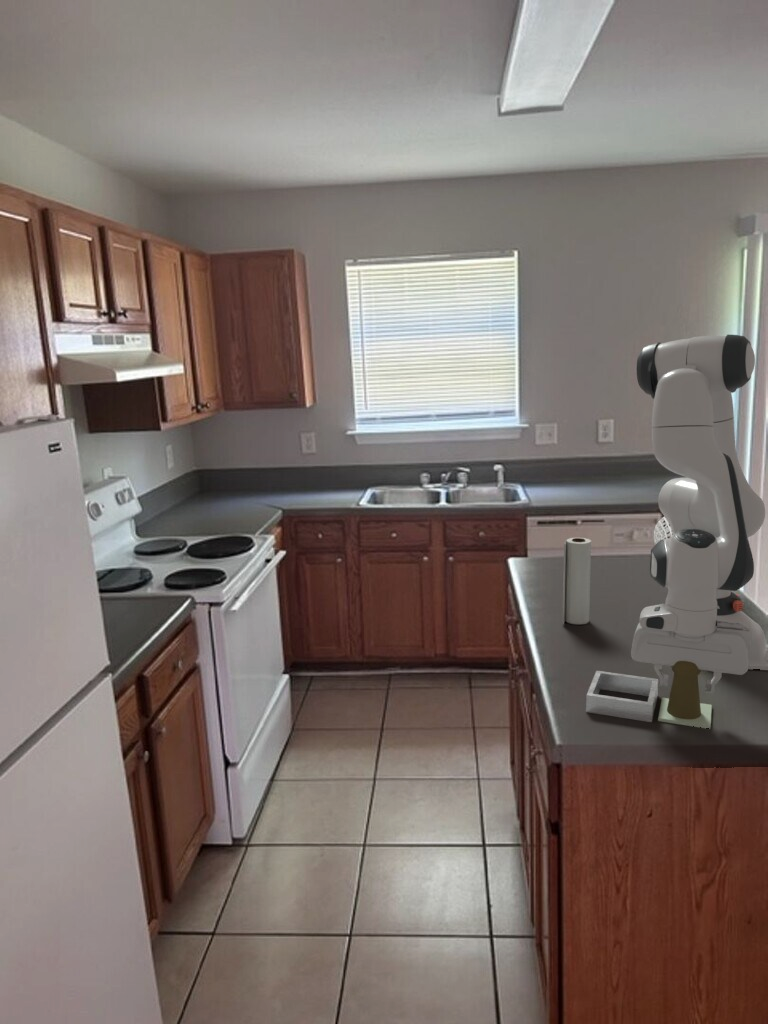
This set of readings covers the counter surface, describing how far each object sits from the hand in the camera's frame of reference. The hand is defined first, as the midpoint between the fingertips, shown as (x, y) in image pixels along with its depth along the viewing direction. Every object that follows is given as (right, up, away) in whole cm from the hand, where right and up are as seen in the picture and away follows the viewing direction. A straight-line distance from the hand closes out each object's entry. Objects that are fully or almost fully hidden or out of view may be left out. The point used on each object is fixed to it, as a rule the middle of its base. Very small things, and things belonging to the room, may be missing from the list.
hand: (686, 688), depth 144 cm
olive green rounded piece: (0, -5, +1) cm, 5 cm away
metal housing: (-10, -4, +6) cm, 13 cm away
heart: (+26, +10, +67) cm, 73 cm away
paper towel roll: (-8, +5, +51) cm, 52 cm away
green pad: (0, -5, +1) cm, 5 cm away
